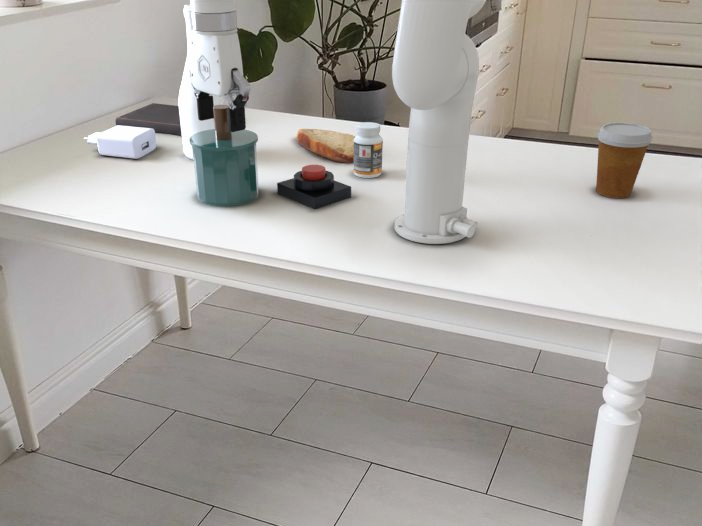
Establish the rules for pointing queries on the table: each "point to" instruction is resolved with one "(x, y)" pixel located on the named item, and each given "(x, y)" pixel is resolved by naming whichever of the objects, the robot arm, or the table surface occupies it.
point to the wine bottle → (191, 99)
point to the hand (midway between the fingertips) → (221, 124)
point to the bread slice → (328, 144)
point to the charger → (124, 141)
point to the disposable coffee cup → (620, 157)
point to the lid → (222, 134)
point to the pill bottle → (368, 150)
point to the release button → (313, 172)
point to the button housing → (314, 190)
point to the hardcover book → (154, 118)
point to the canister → (226, 176)
